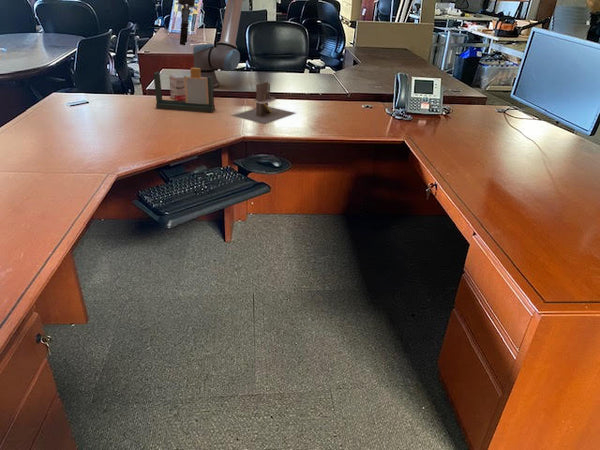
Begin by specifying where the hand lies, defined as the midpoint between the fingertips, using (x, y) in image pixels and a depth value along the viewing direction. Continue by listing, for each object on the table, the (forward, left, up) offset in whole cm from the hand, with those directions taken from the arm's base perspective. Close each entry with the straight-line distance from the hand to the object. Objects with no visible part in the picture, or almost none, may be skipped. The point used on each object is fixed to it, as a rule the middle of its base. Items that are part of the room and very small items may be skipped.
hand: (183, 43), depth 214 cm
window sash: (+5, +13, -26) cm, 29 cm away
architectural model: (-13, +41, -29) cm, 52 cm away
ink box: (-3, -10, -29) cm, 31 cm away
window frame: (+8, +8, -29) cm, 31 cm away
